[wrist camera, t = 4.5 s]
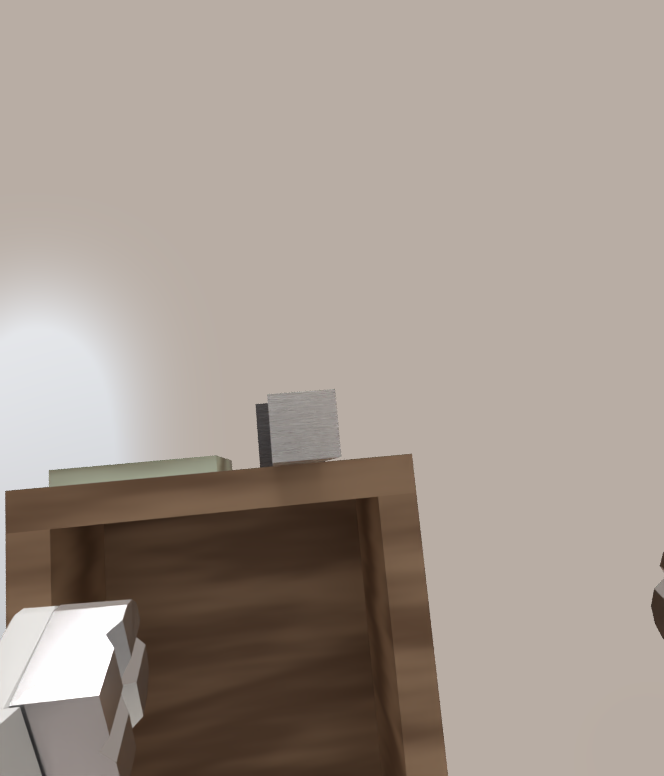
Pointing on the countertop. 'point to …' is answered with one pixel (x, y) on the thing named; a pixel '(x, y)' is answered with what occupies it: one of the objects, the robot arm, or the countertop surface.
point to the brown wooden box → (251, 608)
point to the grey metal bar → (298, 428)
